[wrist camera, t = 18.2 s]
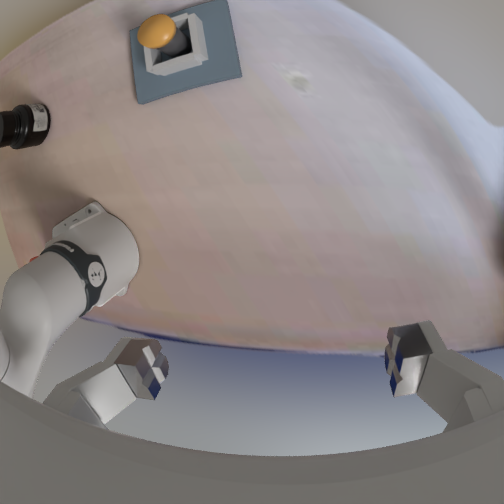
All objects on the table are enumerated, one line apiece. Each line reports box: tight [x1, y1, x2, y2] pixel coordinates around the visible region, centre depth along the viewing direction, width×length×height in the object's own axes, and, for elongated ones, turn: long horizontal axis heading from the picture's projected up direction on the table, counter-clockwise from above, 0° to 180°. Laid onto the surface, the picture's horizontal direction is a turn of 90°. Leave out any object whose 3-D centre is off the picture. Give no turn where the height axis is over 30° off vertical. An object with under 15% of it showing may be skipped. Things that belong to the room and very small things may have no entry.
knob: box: [137, 14, 192, 58], centre depth 28 cm, size 5×5×8 cm
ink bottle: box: [0, 104, 51, 149], centre depth 35 cm, size 10×9×12 cm
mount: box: [130, 0, 242, 104], centre depth 31 cm, size 16×14×5 cm
